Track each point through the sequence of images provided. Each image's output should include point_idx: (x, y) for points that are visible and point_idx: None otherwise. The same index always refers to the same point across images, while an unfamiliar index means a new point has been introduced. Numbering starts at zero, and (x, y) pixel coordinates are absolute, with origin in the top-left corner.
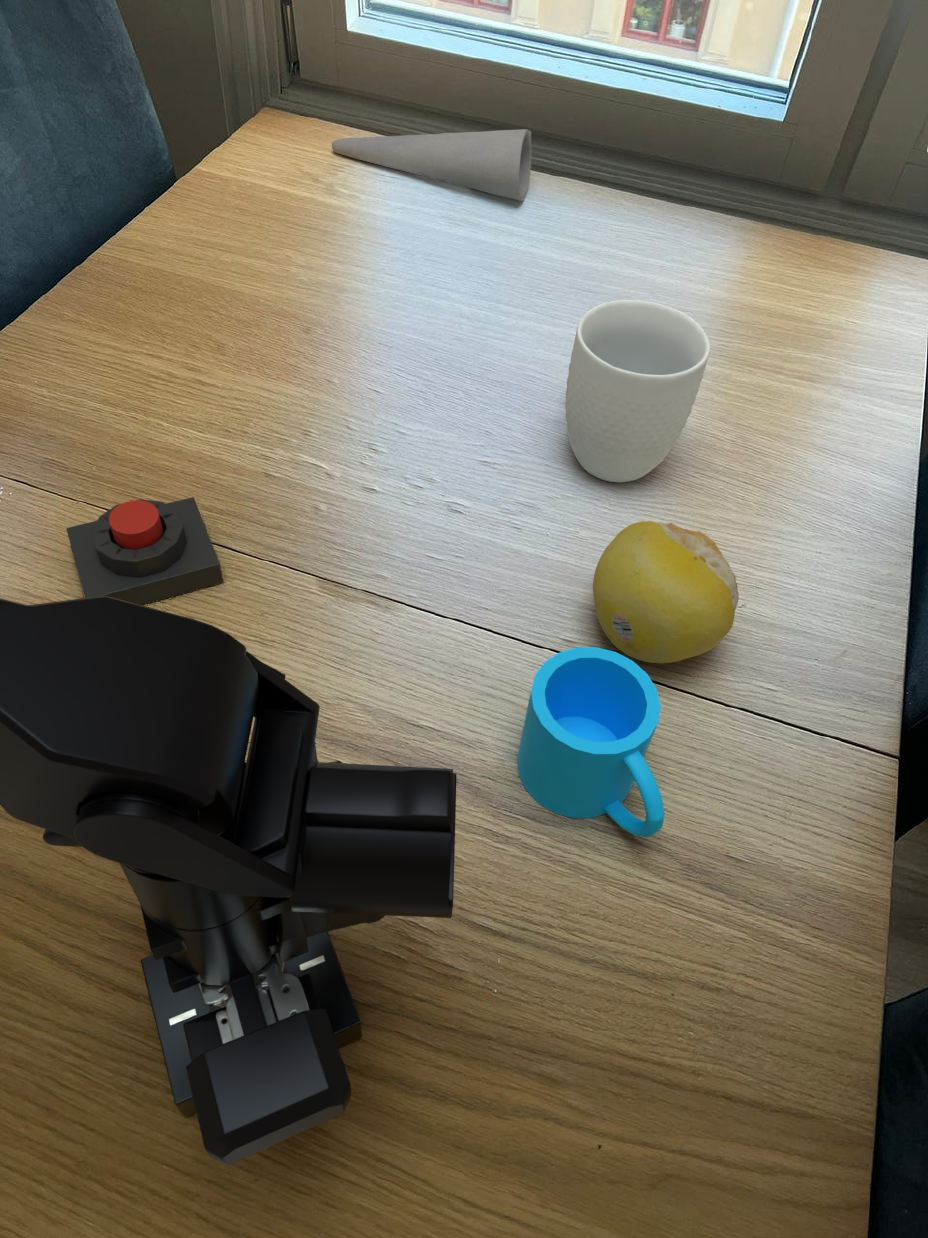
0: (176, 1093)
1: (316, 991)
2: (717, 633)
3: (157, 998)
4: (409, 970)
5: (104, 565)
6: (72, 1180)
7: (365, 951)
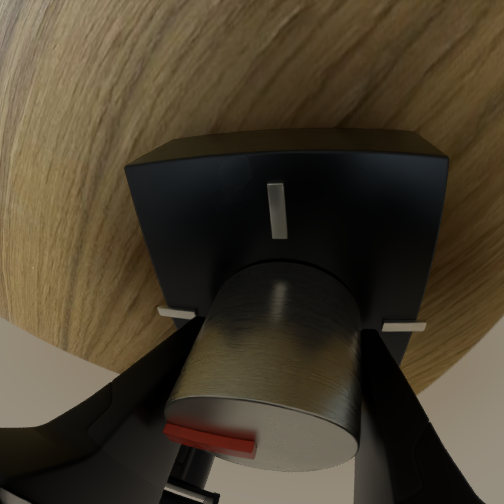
0: None
1: (343, 221)
2: None
3: None
4: (326, 7)
5: None
6: None
7: (264, 70)
